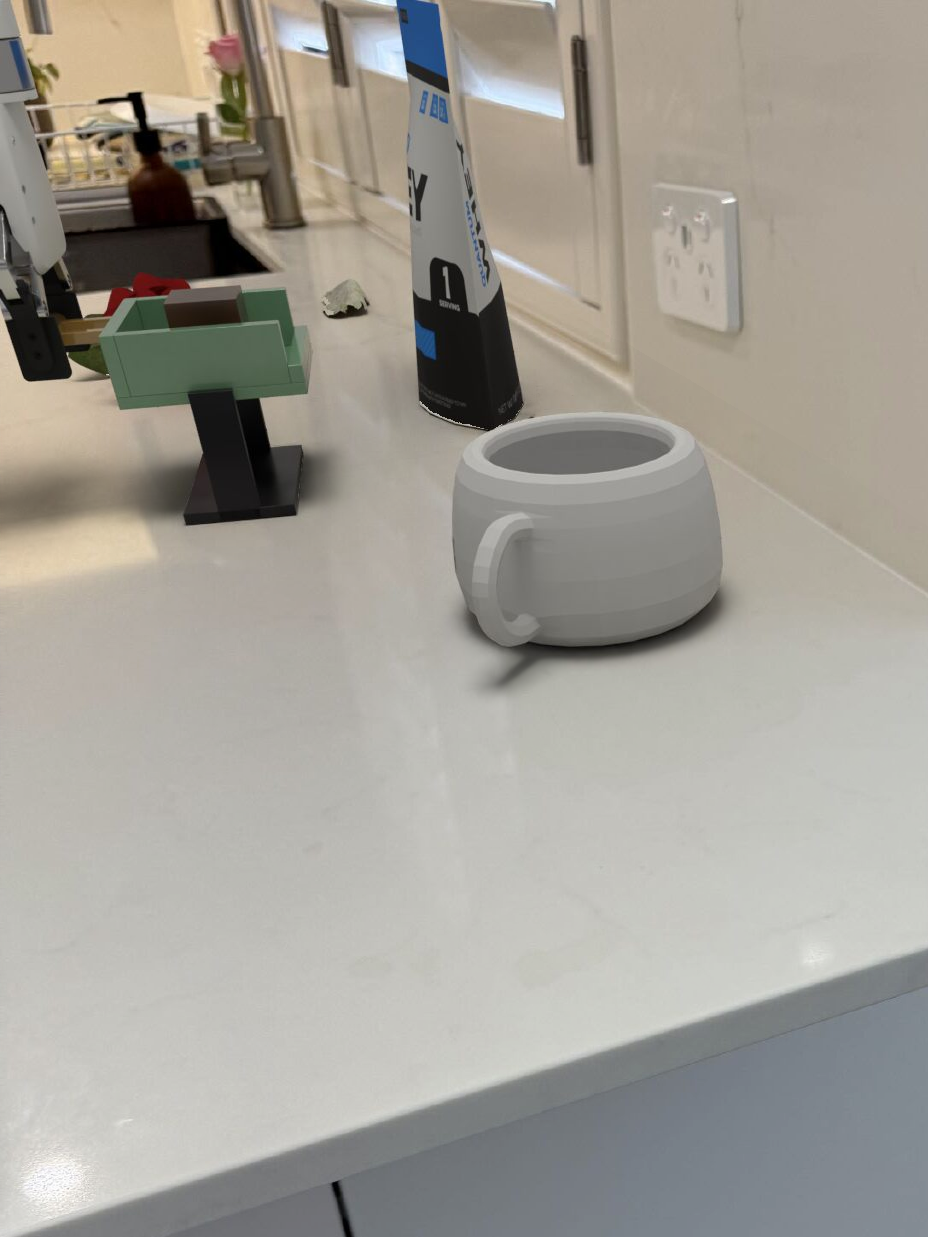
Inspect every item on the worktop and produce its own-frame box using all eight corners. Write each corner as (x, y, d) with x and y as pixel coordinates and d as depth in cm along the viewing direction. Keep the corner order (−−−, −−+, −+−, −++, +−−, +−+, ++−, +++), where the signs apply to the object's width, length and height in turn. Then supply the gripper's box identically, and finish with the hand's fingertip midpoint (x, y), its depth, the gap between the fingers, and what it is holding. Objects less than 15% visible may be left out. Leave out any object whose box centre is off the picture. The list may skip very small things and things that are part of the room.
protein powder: (497, 363, 135) (450, -6, 117) (547, 427, 117) (502, 1, 99) (402, 373, 133) (339, -2, 115) (439, 440, 115) (371, 7, 96)
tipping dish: (40, 417, 94) (15, 343, 91) (71, 372, 104) (50, 304, 101) (307, 394, 97) (292, 321, 94) (312, 352, 107) (299, 285, 104)
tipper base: (185, 525, 99) (150, 396, 94) (204, 462, 111) (174, 345, 106) (296, 515, 101) (268, 387, 95) (303, 454, 113) (278, 337, 107)
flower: (198, 263, 147) (210, 254, 122) (238, 370, 152) (257, 382, 128) (52, 299, 143) (33, 298, 119) (99, 407, 149) (90, 427, 124)
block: (182, 379, 98) (162, 304, 95) (189, 362, 102) (170, 290, 99) (253, 373, 99) (235, 298, 96) (257, 357, 103) (240, 285, 100)
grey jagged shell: (320, 296, 162) (333, 262, 160) (358, 316, 164) (371, 283, 162) (323, 322, 153) (336, 287, 151) (363, 343, 155) (377, 308, 154)
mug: (540, 545, 94) (522, 394, 88) (763, 572, 89) (761, 414, 83) (367, 670, 79) (331, 498, 72) (625, 712, 74) (610, 530, 67)
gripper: (-60, 68, 93) (28, 342, 104) (-131, 88, 80) (-21, 400, 91) (53, 63, 95) (129, 334, 105) (2, 83, 81) (95, 391, 92)
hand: (59, 363), depth 98 cm, fingers closed on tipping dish, 7 cm apart
